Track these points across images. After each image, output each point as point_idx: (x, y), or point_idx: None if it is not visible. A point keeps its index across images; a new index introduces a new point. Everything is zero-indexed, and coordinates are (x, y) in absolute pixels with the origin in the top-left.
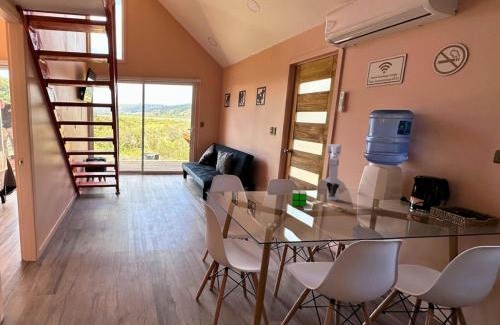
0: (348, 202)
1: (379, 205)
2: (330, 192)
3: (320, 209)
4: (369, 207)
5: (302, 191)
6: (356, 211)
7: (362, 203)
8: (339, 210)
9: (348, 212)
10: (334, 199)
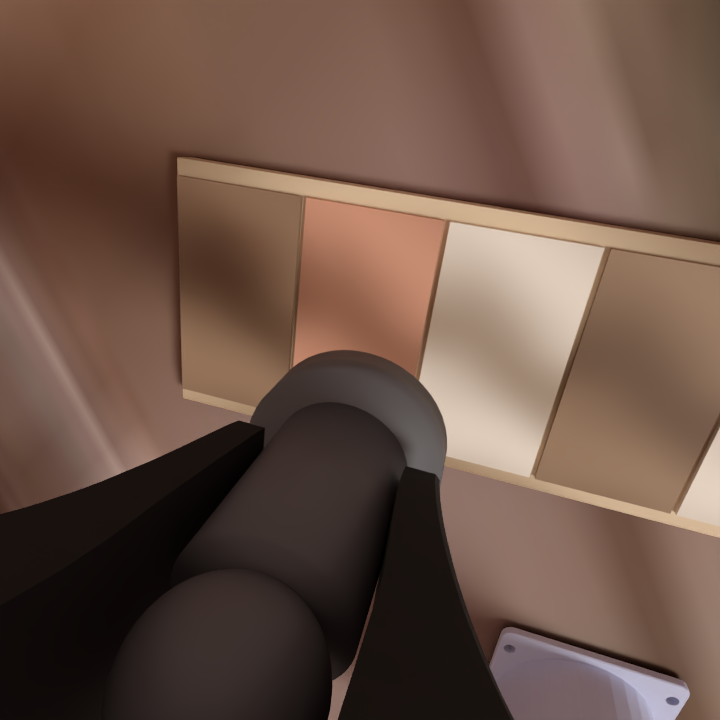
0: None
1: None
2: (344, 460)
3: (542, 2)
4: None
5: None
6: (57, 348)
7: None
8: (177, 157)
9: (86, 221)
10: (503, 693)
